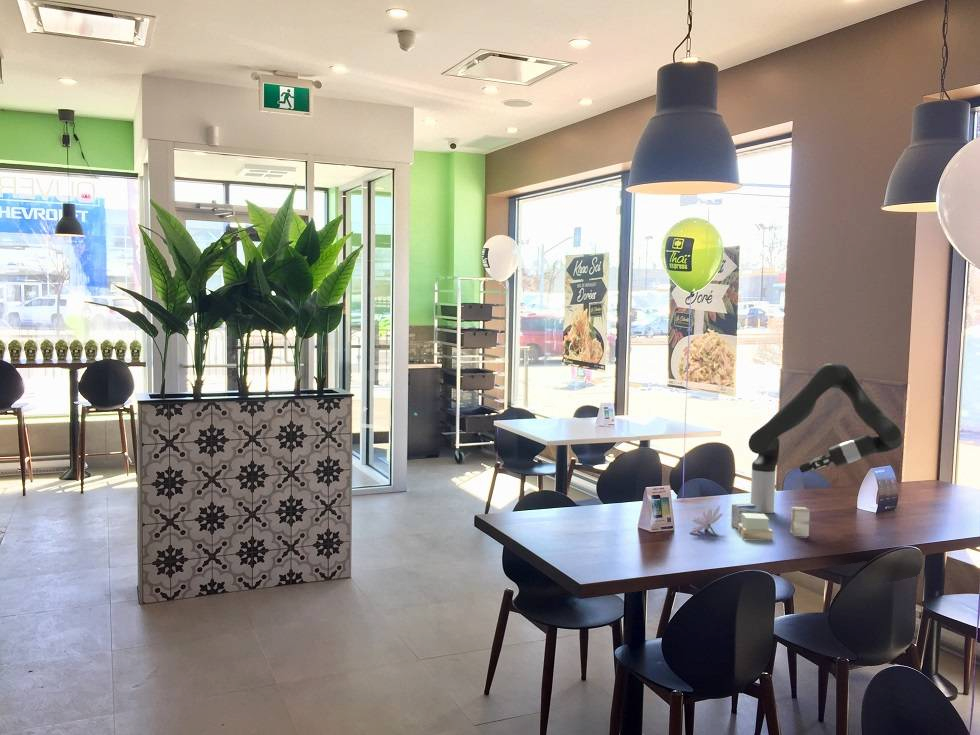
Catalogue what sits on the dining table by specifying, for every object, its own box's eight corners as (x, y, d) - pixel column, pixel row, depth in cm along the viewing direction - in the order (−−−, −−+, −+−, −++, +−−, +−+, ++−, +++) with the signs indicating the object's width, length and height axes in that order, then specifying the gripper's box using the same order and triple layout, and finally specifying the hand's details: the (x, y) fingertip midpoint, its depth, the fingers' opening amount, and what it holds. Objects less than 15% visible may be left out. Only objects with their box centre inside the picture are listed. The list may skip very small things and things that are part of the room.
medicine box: (737, 529, 314) (738, 506, 313) (730, 526, 318) (731, 503, 318) (755, 528, 316) (756, 505, 315) (749, 525, 320) (749, 502, 320)
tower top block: (741, 523, 307) (741, 512, 307) (763, 524, 306) (763, 513, 306) (745, 529, 299) (745, 518, 299) (768, 530, 299) (768, 519, 298)
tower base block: (737, 533, 308) (738, 523, 308) (765, 534, 308) (765, 524, 307) (743, 540, 298) (744, 529, 298) (772, 542, 298) (772, 530, 297)
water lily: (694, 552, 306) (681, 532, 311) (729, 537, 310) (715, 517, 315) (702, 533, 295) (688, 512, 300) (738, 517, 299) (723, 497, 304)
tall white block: (790, 533, 308) (791, 506, 308) (804, 534, 308) (805, 507, 307) (794, 537, 303) (795, 509, 303) (808, 537, 303) (809, 510, 302)
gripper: (839, 443, 308) (796, 458, 313) (840, 444, 295) (795, 460, 300) (848, 462, 307) (804, 477, 312) (849, 464, 294) (804, 480, 299)
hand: (800, 469), depth 306 cm, fingers open, 8 cm apart
